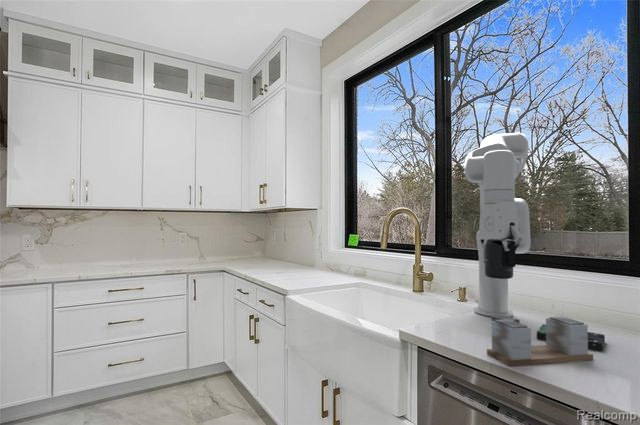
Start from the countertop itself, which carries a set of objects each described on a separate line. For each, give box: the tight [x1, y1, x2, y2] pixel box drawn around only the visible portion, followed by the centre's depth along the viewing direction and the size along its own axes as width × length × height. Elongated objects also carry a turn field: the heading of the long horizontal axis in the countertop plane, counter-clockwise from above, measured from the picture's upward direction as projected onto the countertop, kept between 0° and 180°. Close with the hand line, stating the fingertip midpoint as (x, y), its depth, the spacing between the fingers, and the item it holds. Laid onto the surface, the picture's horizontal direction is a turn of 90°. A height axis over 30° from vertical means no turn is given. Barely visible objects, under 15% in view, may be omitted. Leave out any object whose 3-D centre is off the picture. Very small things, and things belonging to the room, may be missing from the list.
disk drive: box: [536, 324, 606, 352], centre depth 100 cm, size 10×3×15 cm
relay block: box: [491, 315, 520, 323], centre depth 105 cm, size 6×4×5 cm, turn 32°
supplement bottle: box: [485, 238, 514, 280], centre depth 94 cm, size 7×7×12 cm
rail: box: [486, 316, 594, 367], centre depth 87 cm, size 8×23×9 cm, turn 102°
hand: (499, 264), depth 94 cm, fingers closed on supplement bottle, 6 cm apart
